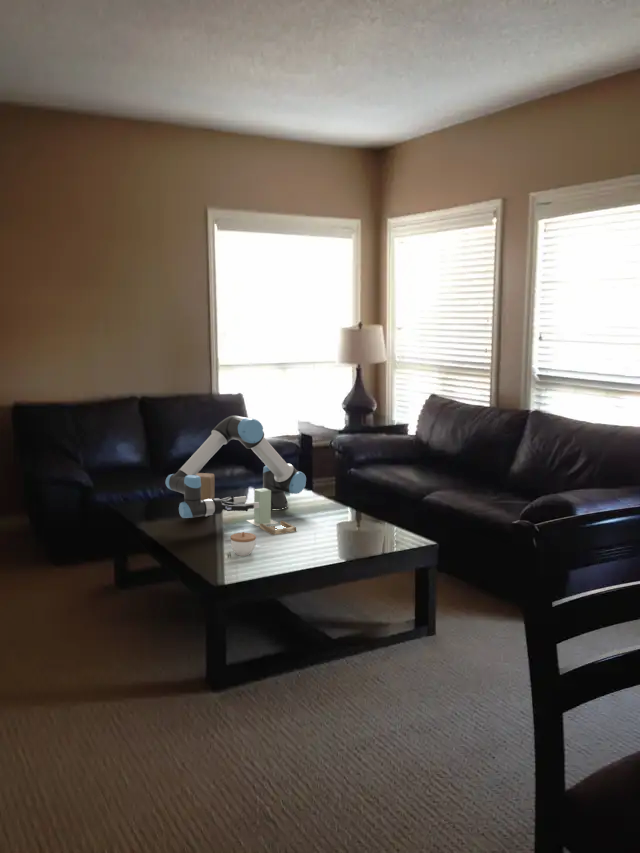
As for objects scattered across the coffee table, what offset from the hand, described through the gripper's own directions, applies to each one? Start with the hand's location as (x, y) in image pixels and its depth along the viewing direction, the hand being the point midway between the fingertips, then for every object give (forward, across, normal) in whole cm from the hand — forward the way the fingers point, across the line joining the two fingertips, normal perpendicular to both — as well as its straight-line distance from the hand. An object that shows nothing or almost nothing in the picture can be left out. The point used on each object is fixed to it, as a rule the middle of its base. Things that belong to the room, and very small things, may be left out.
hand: (252, 501), depth 363 cm
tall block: (+6, 0, -11) cm, 12 cm away
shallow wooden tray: (+6, +15, -11) cm, 20 cm away
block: (-12, -31, -12) cm, 35 cm away
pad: (+6, 0, -11) cm, 13 cm away
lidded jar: (-24, +39, -12) cm, 47 cm away
